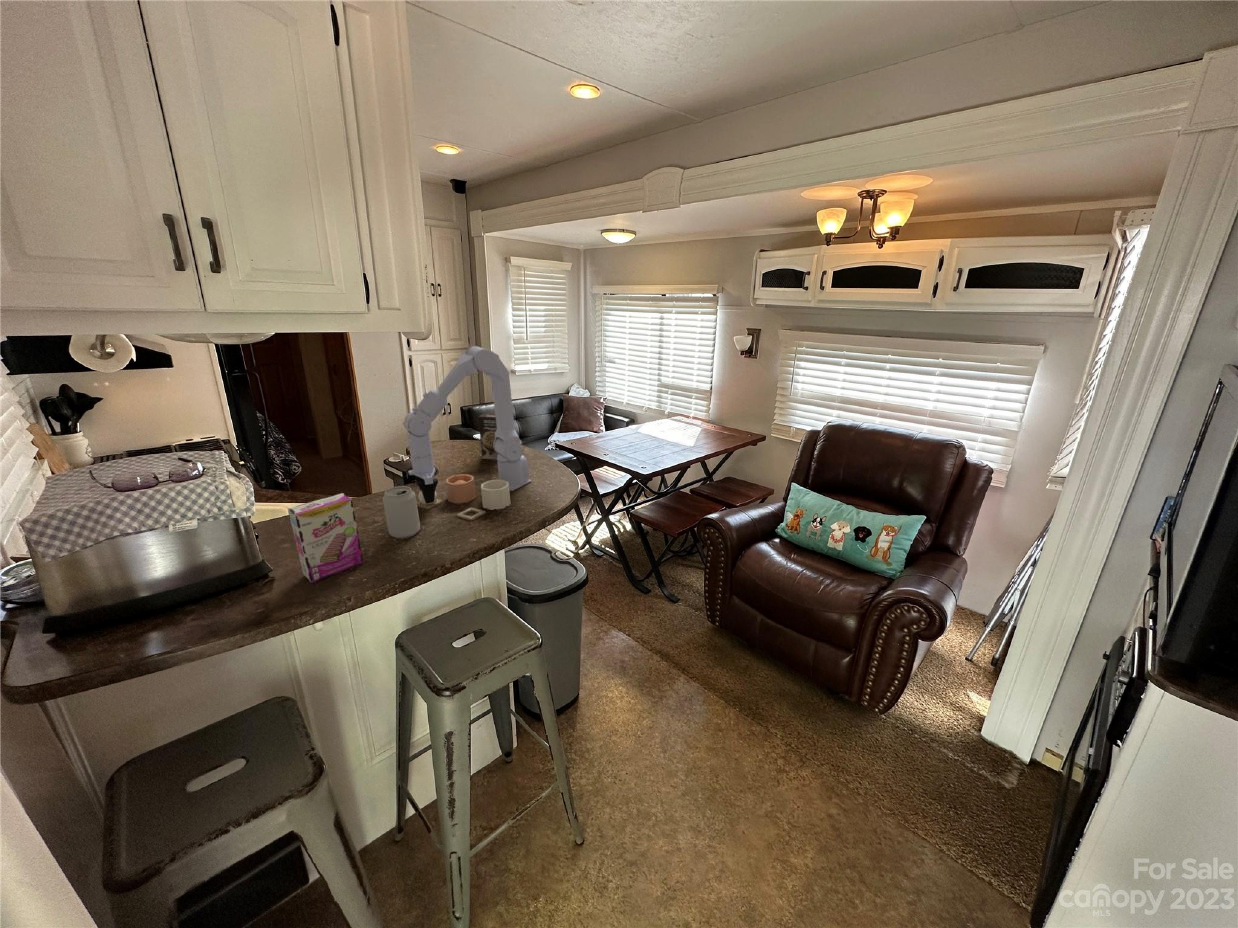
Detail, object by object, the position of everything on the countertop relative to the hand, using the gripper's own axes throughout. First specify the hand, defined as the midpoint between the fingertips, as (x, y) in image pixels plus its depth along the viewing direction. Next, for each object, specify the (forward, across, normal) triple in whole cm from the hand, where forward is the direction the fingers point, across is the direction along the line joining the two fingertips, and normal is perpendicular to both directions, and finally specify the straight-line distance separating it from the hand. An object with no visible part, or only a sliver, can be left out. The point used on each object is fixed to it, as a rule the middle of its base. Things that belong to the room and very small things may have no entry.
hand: (428, 498), depth 139 cm
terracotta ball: (-1, 0, +9) cm, 9 cm away
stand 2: (+2, +13, +9) cm, 16 cm away
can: (+2, +15, -8) cm, 18 cm away
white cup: (+2, +10, +17) cm, 20 cm away
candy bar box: (+2, +26, -24) cm, 35 cm away
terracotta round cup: (+2, 0, +9) cm, 10 cm away
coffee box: (+2, -31, +30) cm, 43 cm away
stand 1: (+2, 0, 0) cm, 2 cm away
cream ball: (-1, 0, 0) cm, 1 cm away
